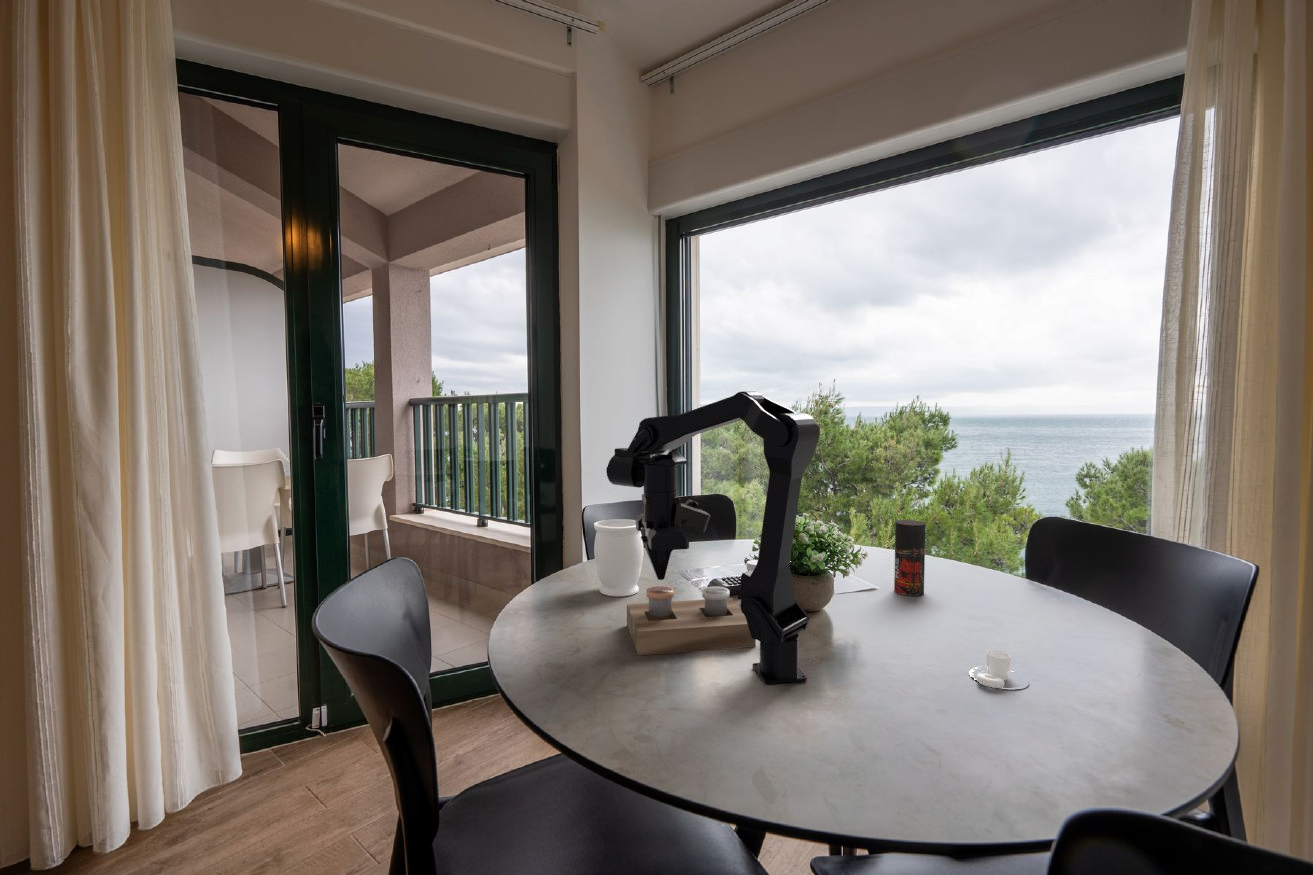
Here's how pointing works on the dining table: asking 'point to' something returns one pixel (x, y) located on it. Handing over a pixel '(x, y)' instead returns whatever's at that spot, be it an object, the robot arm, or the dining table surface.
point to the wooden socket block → (687, 628)
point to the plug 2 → (715, 600)
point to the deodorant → (909, 557)
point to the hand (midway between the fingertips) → (660, 579)
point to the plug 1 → (660, 600)
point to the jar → (618, 556)
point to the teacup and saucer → (994, 669)
